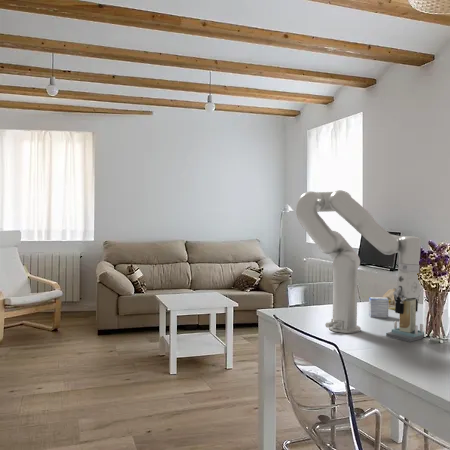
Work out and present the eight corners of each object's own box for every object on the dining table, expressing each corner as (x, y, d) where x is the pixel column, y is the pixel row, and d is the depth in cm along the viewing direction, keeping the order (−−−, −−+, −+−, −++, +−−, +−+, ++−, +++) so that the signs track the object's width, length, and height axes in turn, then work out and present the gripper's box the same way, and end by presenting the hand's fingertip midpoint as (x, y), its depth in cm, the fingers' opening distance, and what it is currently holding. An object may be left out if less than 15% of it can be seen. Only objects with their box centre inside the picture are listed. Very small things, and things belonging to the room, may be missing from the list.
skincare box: (404, 328, 188) (405, 297, 188) (415, 329, 185) (416, 298, 185) (398, 331, 183) (399, 299, 183) (410, 333, 180) (410, 301, 180)
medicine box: (386, 315, 220) (386, 297, 220) (388, 318, 215) (388, 299, 215) (368, 315, 221) (368, 296, 220) (370, 317, 216) (370, 298, 216)
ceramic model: (376, 306, 243) (376, 286, 243) (394, 304, 247) (394, 285, 247) (394, 311, 230) (394, 291, 230) (413, 310, 233) (413, 289, 233)
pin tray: (409, 341, 176) (410, 328, 176) (386, 336, 184) (386, 322, 184) (429, 336, 185) (430, 322, 185) (406, 330, 193) (406, 318, 192)
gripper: (405, 270, 175) (402, 316, 176) (429, 268, 186) (427, 311, 187) (387, 268, 181) (384, 312, 182) (412, 265, 192) (409, 307, 193)
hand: (406, 312), depth 184 cm, fingers open, 9 cm apart
